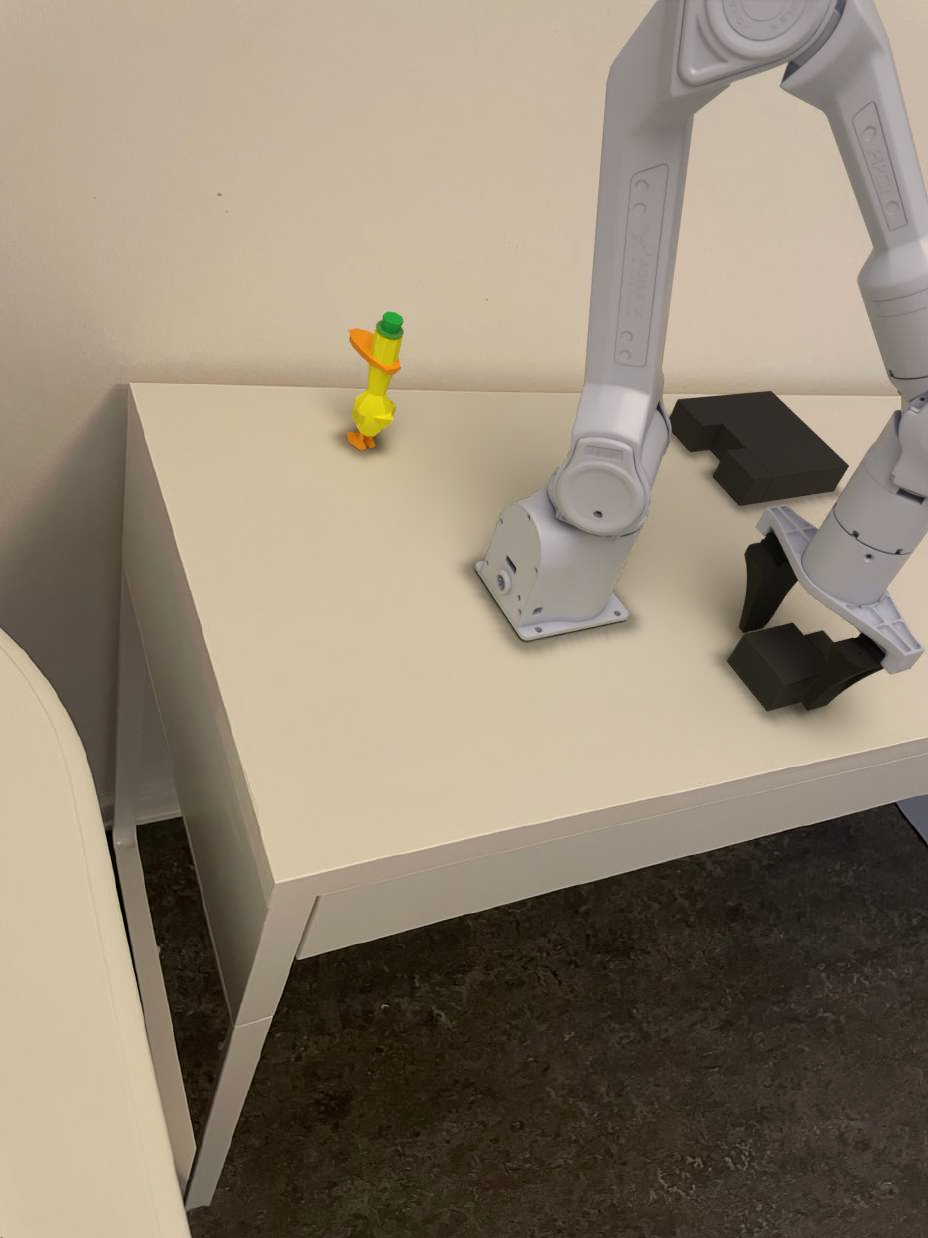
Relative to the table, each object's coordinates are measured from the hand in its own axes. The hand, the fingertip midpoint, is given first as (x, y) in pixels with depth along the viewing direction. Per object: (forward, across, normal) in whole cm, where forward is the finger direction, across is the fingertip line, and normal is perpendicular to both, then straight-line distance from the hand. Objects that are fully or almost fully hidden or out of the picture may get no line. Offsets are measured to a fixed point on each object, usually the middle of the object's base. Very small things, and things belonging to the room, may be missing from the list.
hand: (781, 665), depth 75 cm
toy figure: (+2, +32, +20) cm, 38 cm away
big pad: (+2, +24, -17) cm, 29 cm away
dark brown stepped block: (+2, 0, 0) cm, 2 cm away
